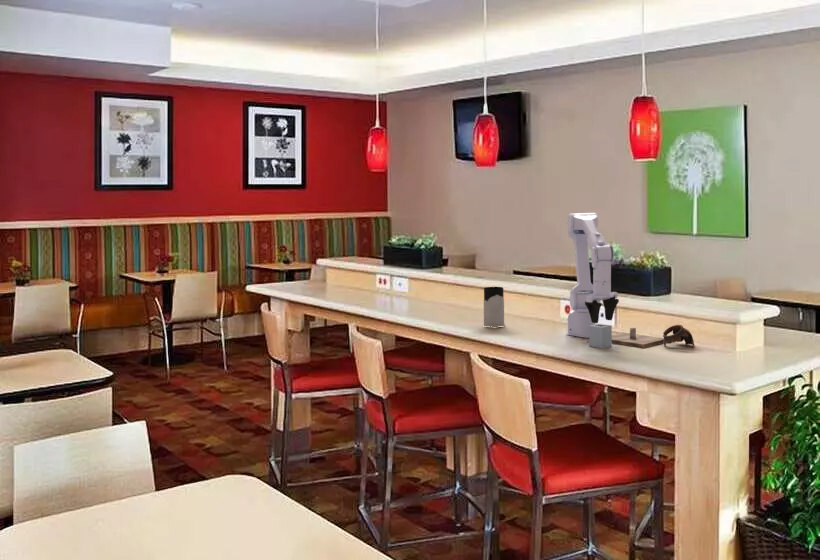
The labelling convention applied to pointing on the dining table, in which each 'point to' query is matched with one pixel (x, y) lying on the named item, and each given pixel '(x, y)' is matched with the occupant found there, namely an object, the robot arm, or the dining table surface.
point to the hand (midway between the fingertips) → (601, 321)
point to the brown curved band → (678, 335)
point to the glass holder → (493, 306)
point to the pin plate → (635, 339)
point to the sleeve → (600, 335)
